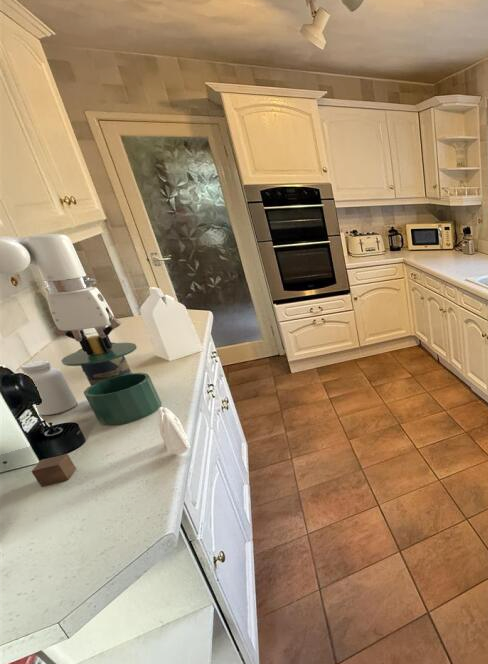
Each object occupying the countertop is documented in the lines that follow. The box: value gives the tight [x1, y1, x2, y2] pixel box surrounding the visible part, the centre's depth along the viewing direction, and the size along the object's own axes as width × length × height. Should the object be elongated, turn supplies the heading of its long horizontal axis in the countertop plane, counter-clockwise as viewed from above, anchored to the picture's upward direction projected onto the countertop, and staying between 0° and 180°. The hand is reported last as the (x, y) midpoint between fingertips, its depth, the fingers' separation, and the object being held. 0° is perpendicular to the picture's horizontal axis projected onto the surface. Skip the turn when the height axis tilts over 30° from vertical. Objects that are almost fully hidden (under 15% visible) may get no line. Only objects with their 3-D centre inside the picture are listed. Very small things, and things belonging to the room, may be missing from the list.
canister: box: [76, 341, 133, 386], centre depth 120 cm, size 10×10×18 cm
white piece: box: [157, 406, 191, 456], centre depth 97 cm, size 12×4×11 cm, turn 45°
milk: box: [139, 286, 205, 362], centre depth 150 cm, size 12×12×26 cm
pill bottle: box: [20, 359, 78, 416], centre depth 114 cm, size 8×8×15 cm
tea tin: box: [83, 372, 162, 427], centre depth 113 cm, size 14×14×10 cm
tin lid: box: [61, 335, 138, 367], centre depth 106 cm, size 15×15×6 cm
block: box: [31, 453, 77, 488], centre depth 89 cm, size 4×4×4 cm
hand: (99, 351), depth 106 cm, fingers closed on tin lid, 2 cm apart
